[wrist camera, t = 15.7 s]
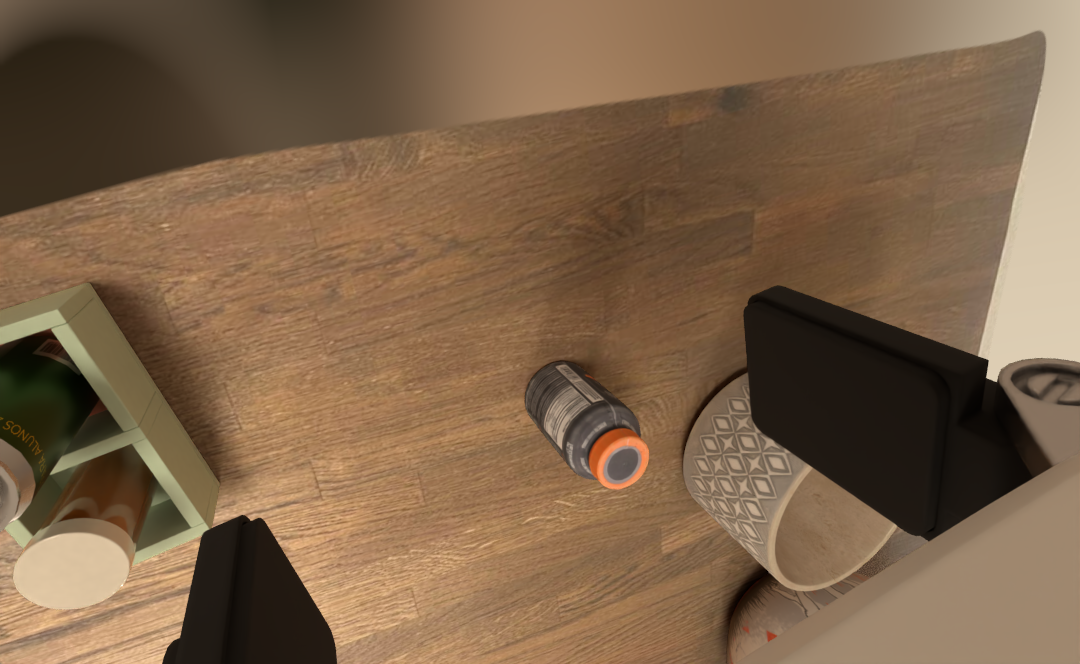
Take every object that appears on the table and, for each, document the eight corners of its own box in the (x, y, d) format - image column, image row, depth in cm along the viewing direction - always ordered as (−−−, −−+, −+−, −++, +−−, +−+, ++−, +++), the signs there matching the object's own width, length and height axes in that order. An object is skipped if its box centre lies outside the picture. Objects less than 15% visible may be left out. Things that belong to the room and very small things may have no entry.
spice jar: (59, 456, 34) (-12, 562, 26) (141, 425, 35) (97, 517, 27) (103, 512, 36) (50, 625, 28) (179, 480, 37) (148, 581, 29)
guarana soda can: (11, 315, 31) (-132, 420, 20) (124, 353, 33) (48, 462, 23) (-29, 398, 31) (-188, 542, 21) (85, 429, 34) (-6, 569, 23)
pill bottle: (595, 404, 49) (670, 477, 39) (535, 435, 48) (597, 519, 38) (577, 347, 46) (653, 410, 37) (513, 379, 45) (574, 453, 35)
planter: (807, 460, 63) (915, 533, 52) (686, 528, 59) (775, 623, 48) (802, 335, 56) (925, 389, 45) (663, 403, 52) (762, 481, 41)
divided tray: (-77, 334, 30) (-140, 372, 26) (89, 281, 32) (57, 308, 28) (92, 537, 37) (65, 595, 32) (220, 484, 39) (211, 531, 34)
